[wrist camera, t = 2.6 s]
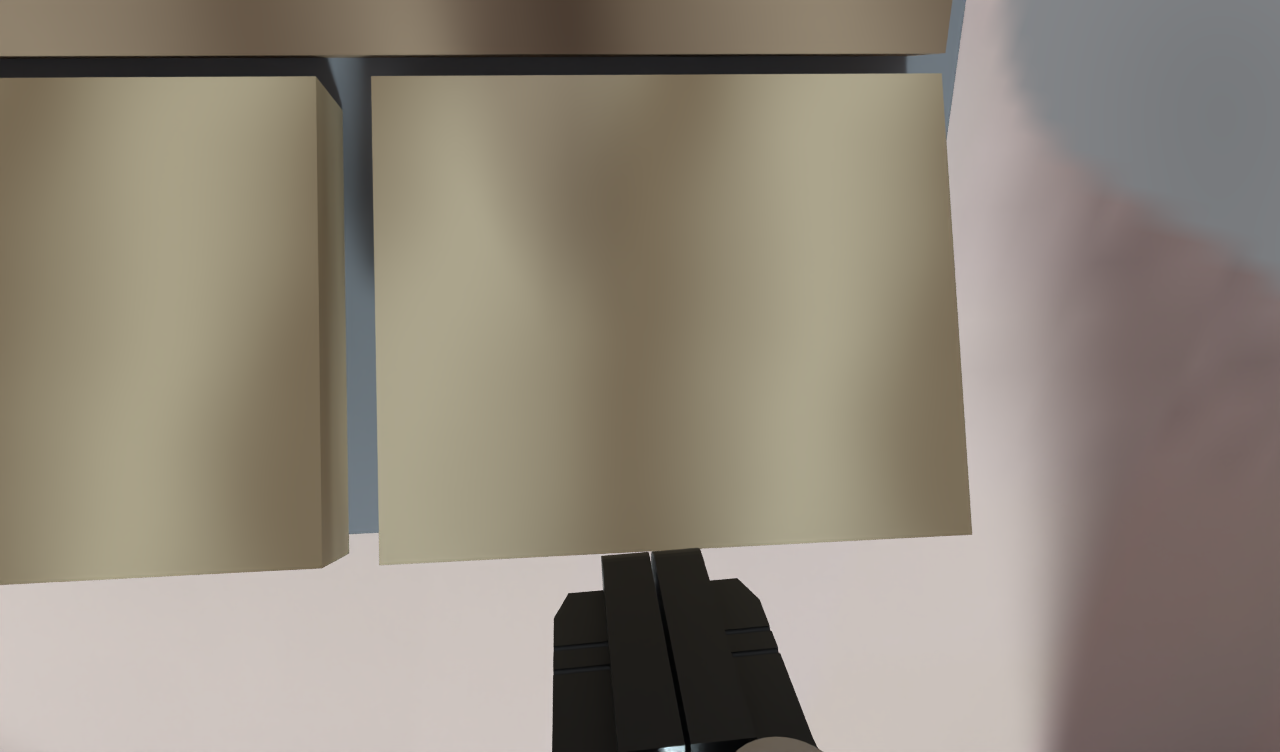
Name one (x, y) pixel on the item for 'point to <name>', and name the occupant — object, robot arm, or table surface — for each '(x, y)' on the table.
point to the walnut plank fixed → (469, 28)
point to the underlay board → (353, 95)
